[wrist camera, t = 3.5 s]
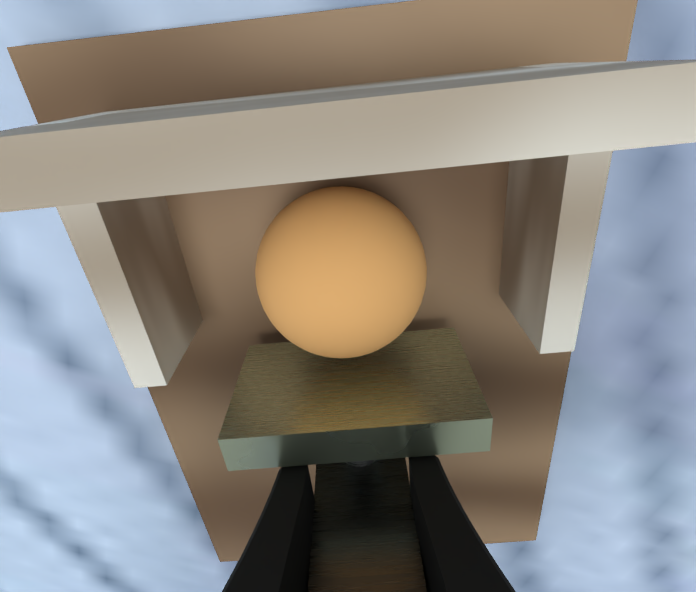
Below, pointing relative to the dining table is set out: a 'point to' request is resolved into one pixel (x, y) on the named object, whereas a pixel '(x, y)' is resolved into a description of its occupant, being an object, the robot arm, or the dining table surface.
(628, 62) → the brown piece
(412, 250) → the ball
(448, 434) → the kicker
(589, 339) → the dining table surface
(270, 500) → the robot arm
